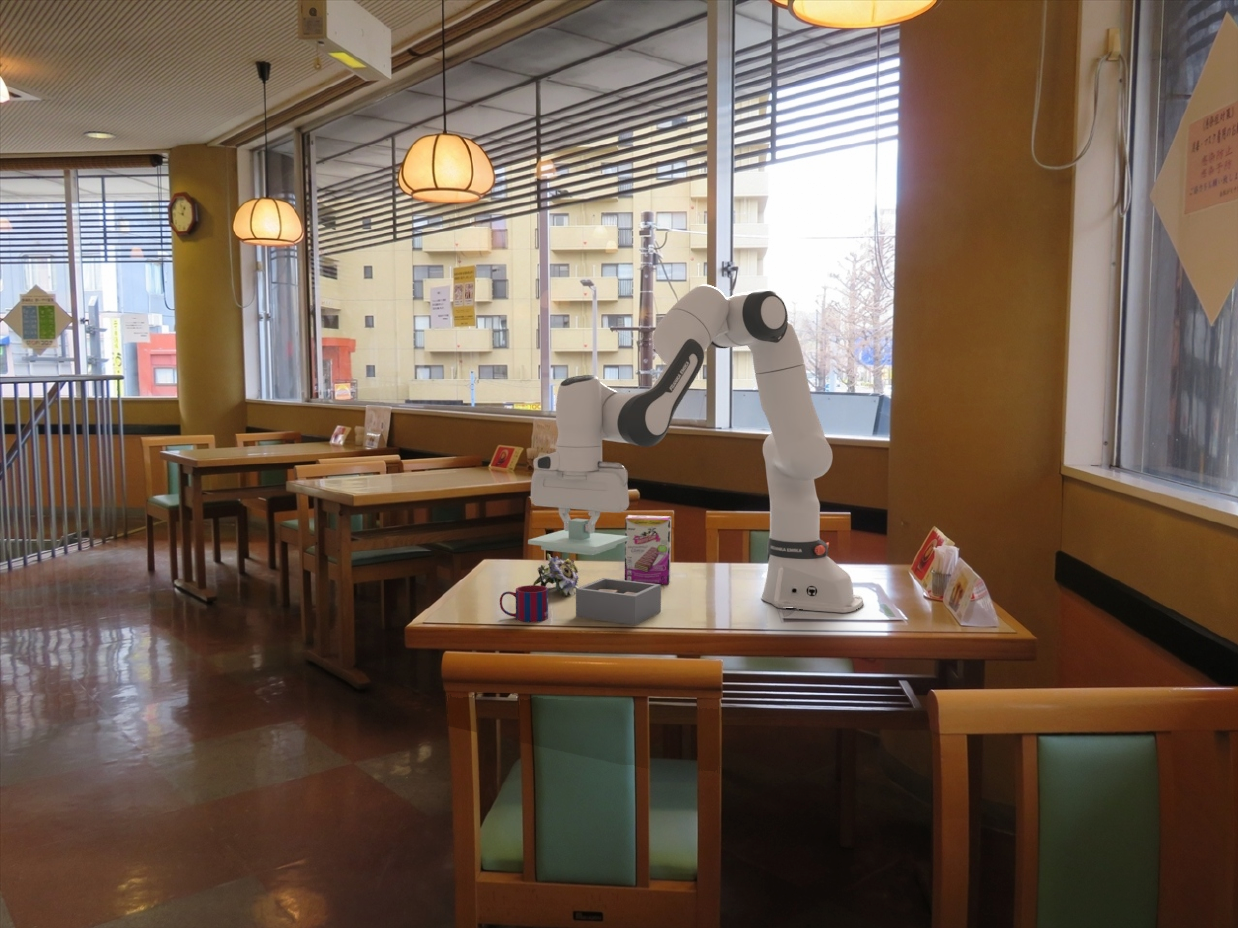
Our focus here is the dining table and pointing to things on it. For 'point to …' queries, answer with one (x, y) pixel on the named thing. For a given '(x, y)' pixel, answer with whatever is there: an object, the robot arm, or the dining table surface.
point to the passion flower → (559, 575)
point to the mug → (529, 603)
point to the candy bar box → (648, 549)
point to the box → (618, 601)
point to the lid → (578, 540)
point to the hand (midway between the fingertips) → (579, 531)
